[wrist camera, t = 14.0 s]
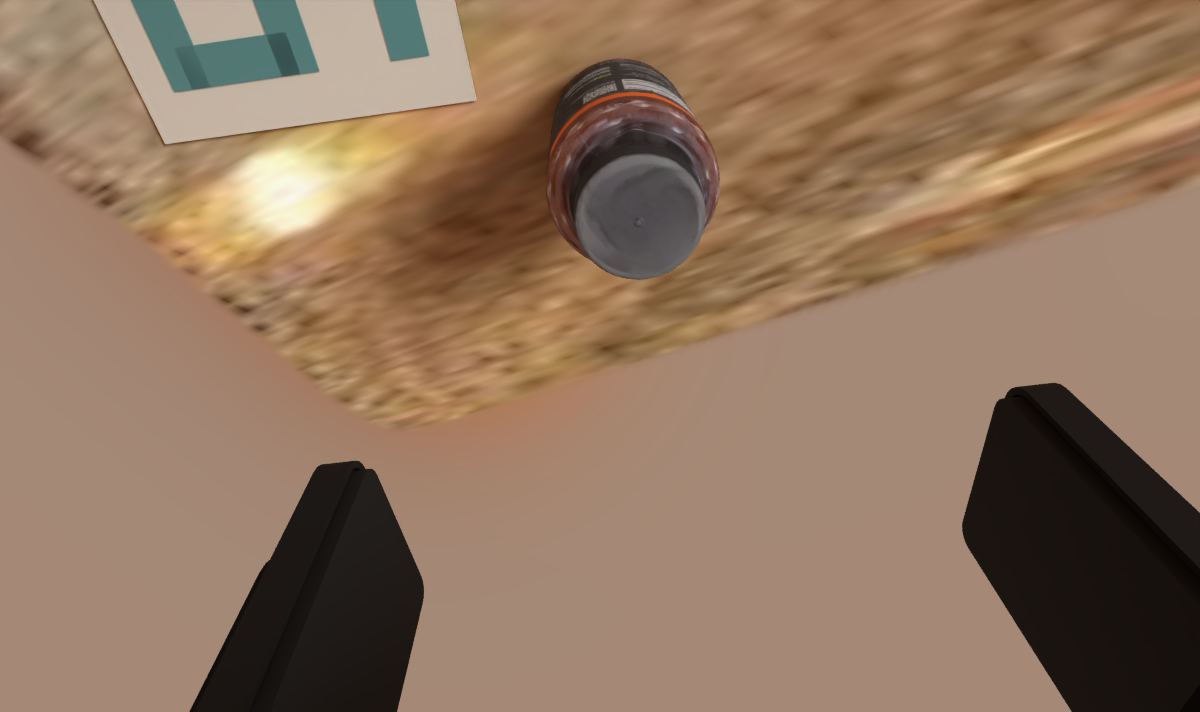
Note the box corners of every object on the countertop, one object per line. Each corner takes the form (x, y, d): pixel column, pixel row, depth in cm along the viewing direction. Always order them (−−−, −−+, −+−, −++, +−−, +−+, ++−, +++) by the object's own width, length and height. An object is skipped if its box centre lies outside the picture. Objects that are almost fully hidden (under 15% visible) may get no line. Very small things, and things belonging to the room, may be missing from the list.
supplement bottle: (628, 217, 31) (648, 342, 21) (526, 139, 29) (499, 241, 19) (713, 115, 28) (780, 206, 19) (609, 22, 26) (624, 73, 17)
